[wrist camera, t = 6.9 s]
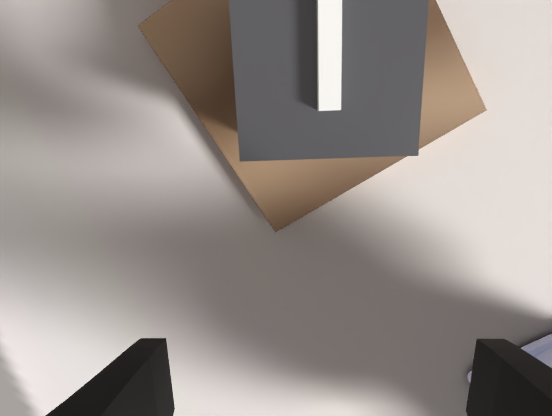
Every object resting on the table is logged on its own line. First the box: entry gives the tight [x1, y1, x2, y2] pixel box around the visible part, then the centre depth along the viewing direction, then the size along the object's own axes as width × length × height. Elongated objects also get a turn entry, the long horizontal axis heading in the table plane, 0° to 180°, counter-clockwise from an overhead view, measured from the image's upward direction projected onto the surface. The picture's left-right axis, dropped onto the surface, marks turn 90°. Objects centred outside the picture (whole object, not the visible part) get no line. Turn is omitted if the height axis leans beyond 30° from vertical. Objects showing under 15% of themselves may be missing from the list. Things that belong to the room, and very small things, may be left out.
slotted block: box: [229, 0, 429, 162], centre depth 13 cm, size 5×5×6 cm
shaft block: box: [138, 0, 486, 232], centre depth 14 cm, size 10×10×4 cm
